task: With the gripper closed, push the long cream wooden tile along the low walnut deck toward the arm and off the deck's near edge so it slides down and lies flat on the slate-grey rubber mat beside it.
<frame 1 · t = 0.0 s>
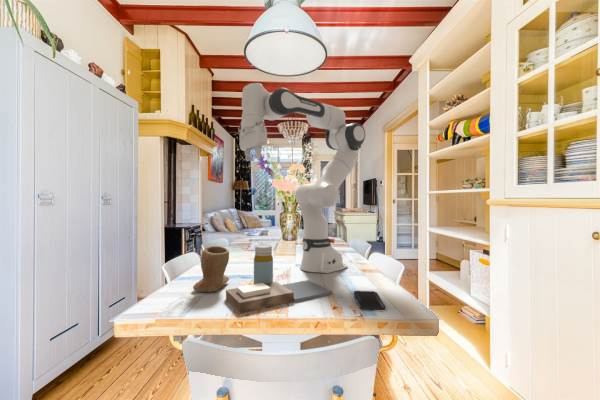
hand: (252, 159, 118), 48 cm above the table, tool pointing down, fingers open, 8 cm apart
mat: (302, 291, 104), on the table
deck: (259, 300, 95), on the table
phone: (368, 302, 95), on the table
bottle: (263, 286, 109), on the table
stone cup: (214, 287, 108), on the table
tile: (253, 292, 94), point 3 cm above the table, touching deck
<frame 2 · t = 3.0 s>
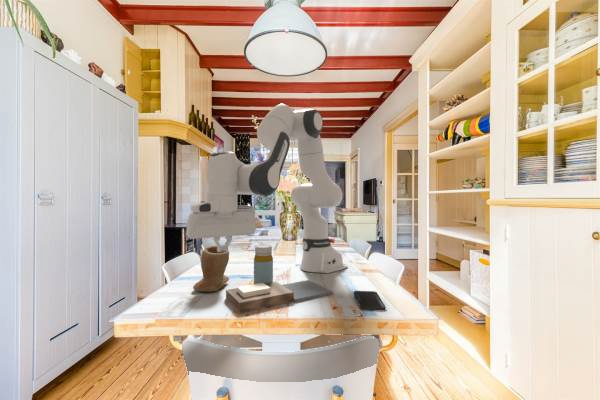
hand: (222, 251, 88), 17 cm above the table, tool pointing down, fingers closed
nothing on the table moved.
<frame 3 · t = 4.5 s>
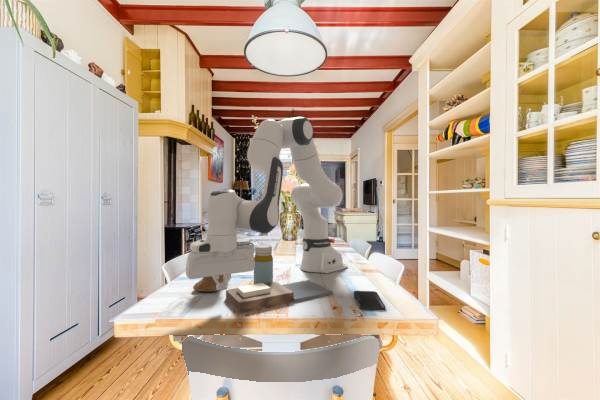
hand: (221, 289, 88), 6 cm above the table, tool pointing down, fingers closed
nothing on the table moved.
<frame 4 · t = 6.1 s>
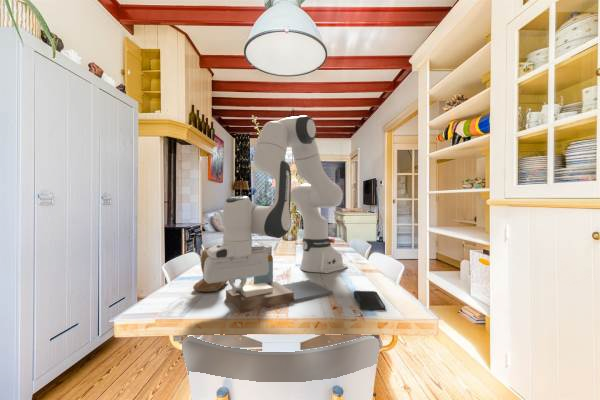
hand: (237, 292, 91), 4 cm above the table, tool pointing down, fingers closed
tile: (255, 291, 94), point 3 cm above the table, touching deck, gripper
everything else where it was.
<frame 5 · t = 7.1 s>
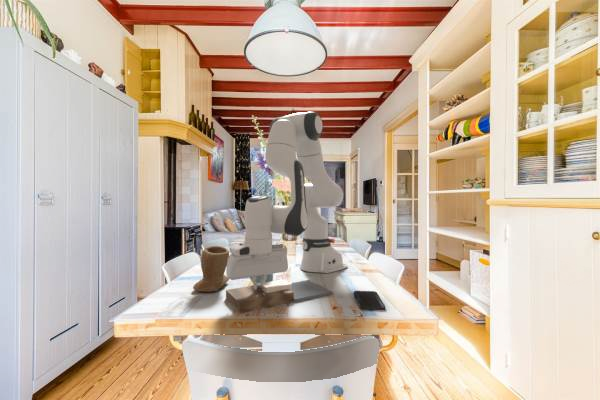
hand: (258, 288, 95), 4 cm above the table, tool pointing down, fingers closed
tile: (275, 288, 98), point 3 cm above the table, touching gripper
everything else where it was.
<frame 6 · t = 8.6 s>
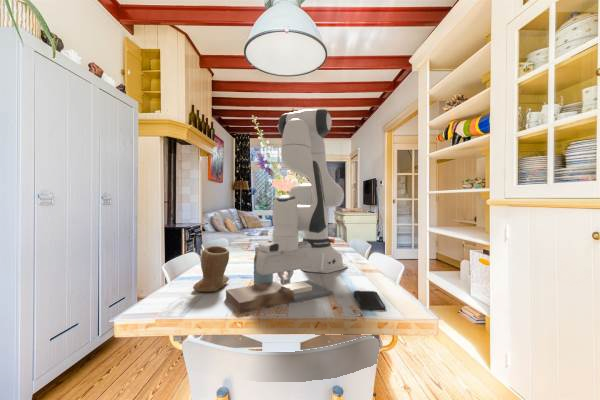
hand: (285, 283, 100), 4 cm above the table, tool pointing down, fingers closed
tile: (296, 290, 102), point 1 cm above the table, touching mat
everything else where it was.
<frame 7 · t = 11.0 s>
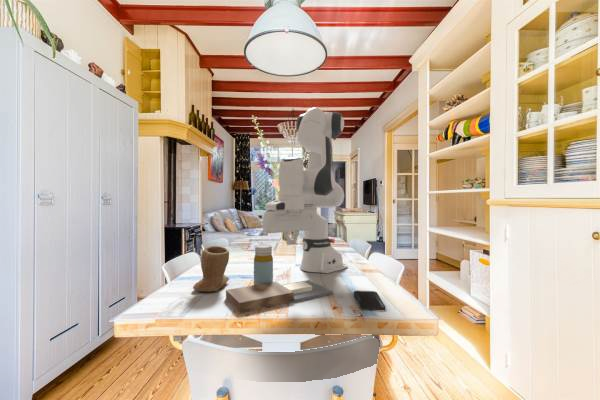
hand: (291, 244, 101), 17 cm above the table, tool pointing down, fingers closed
nothing on the table moved.
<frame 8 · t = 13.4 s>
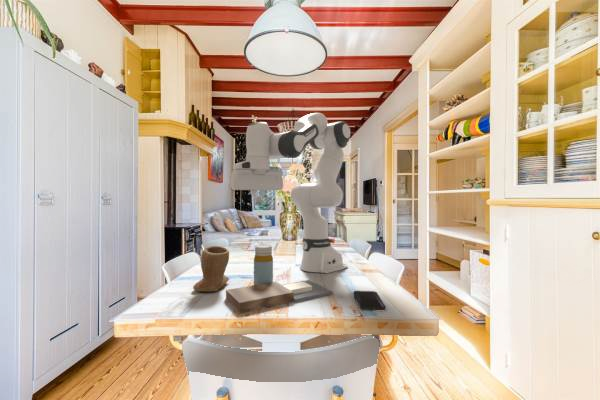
hand: (257, 202, 110), 31 cm above the table, tool pointing down, fingers closed
nothing on the table moved.
at the end: tile inside the target area (2.6 cm from its centre), point 1.0 cm above the table; tile tilted 0°; tile touching mat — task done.
